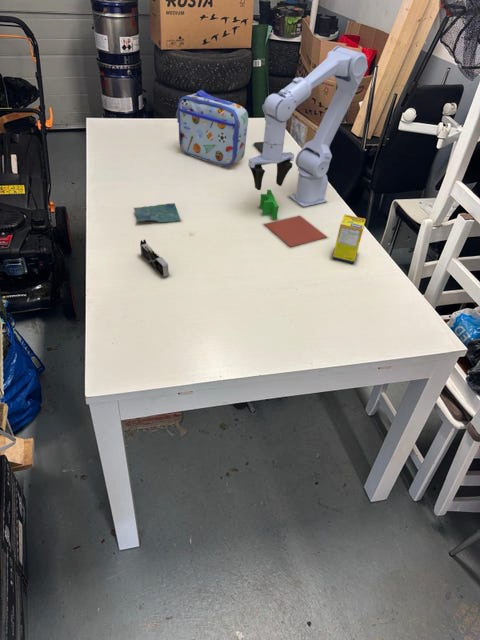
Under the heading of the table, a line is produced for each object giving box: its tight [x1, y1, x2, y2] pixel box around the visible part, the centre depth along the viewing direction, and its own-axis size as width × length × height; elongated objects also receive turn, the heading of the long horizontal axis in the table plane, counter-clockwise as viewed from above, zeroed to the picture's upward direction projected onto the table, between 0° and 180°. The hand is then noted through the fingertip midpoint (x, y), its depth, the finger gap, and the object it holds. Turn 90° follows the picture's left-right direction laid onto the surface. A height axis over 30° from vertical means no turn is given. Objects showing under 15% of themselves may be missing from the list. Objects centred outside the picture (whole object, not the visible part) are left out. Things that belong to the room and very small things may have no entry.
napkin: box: [264, 215, 327, 248], centre depth 136 cm, size 13×14×1 cm
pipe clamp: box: [259, 189, 279, 221], centre depth 142 cm, size 11×4×5 cm, turn 9°
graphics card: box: [139, 239, 170, 278], centre depth 116 cm, size 12×3×5 cm, turn 37°
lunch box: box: [175, 89, 249, 167], centre depth 165 cm, size 28×10×22 cm, turn 58°
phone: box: [253, 141, 264, 154], centre depth 181 cm, size 7×1×15 cm
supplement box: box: [332, 214, 367, 265], centre depth 124 cm, size 6×6×11 cm
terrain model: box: [133, 202, 181, 223], centre depth 136 cm, size 13×8×2 cm, turn 108°
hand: (268, 186), depth 138 cm, fingers open, 7 cm apart
